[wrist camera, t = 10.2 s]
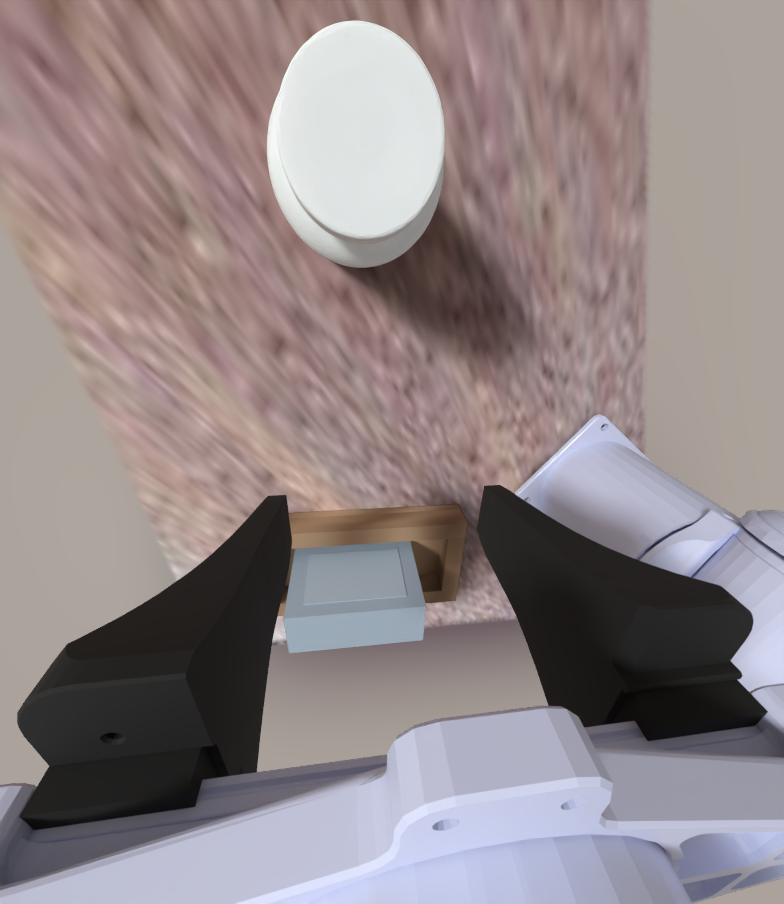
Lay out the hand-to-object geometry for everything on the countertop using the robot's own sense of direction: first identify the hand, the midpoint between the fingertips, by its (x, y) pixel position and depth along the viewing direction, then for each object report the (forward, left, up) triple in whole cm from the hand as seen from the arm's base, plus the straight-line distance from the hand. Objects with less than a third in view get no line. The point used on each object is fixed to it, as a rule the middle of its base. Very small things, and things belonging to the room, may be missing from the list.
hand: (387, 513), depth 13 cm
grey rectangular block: (-6, +9, -9) cm, 14 cm away
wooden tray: (-6, +9, -10) cm, 15 cm away
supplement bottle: (+7, -8, -10) cm, 15 cm away
